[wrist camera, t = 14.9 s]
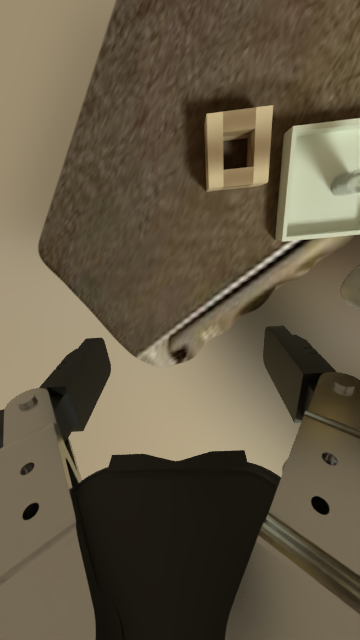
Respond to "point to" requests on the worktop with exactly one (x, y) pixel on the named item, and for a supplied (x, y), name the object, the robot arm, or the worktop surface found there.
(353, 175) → the pin
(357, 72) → the worktop surface
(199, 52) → the worktop surface
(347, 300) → the lumpy-topped squat cylinder
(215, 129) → the frame
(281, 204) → the parts tray
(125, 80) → the worktop surface
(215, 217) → the worktop surface
